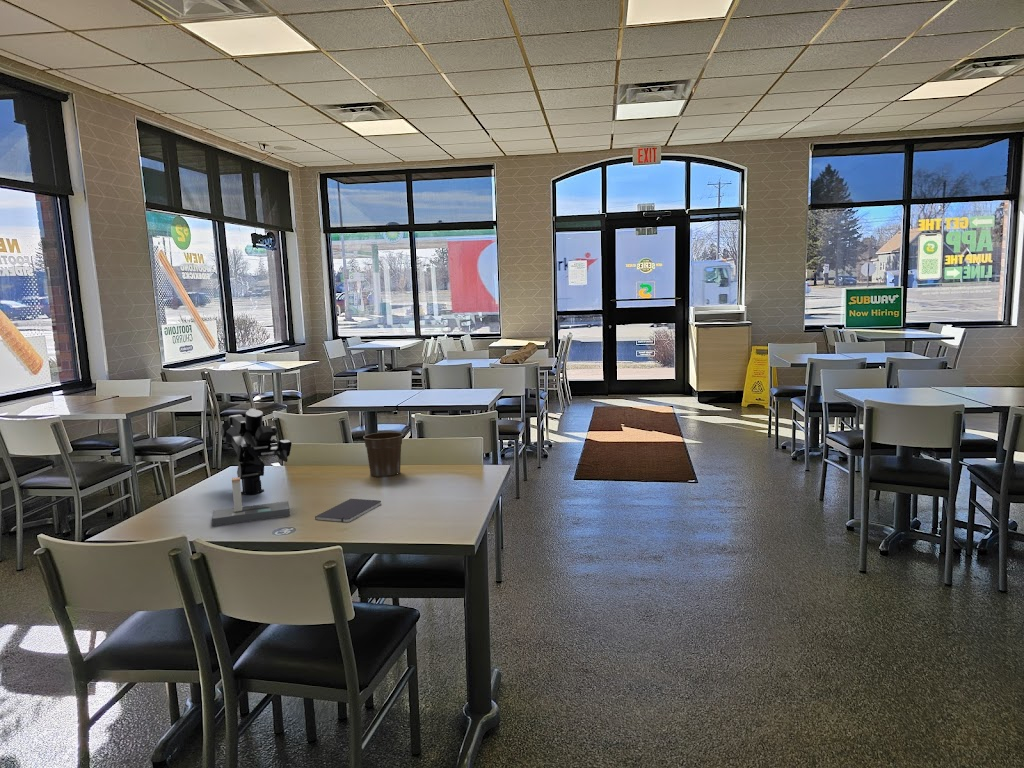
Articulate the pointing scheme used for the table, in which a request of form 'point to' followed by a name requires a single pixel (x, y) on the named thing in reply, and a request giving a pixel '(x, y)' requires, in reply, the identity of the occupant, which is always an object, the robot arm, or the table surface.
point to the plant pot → (384, 453)
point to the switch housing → (250, 513)
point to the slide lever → (237, 494)
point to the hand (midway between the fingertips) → (274, 462)
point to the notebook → (348, 510)
